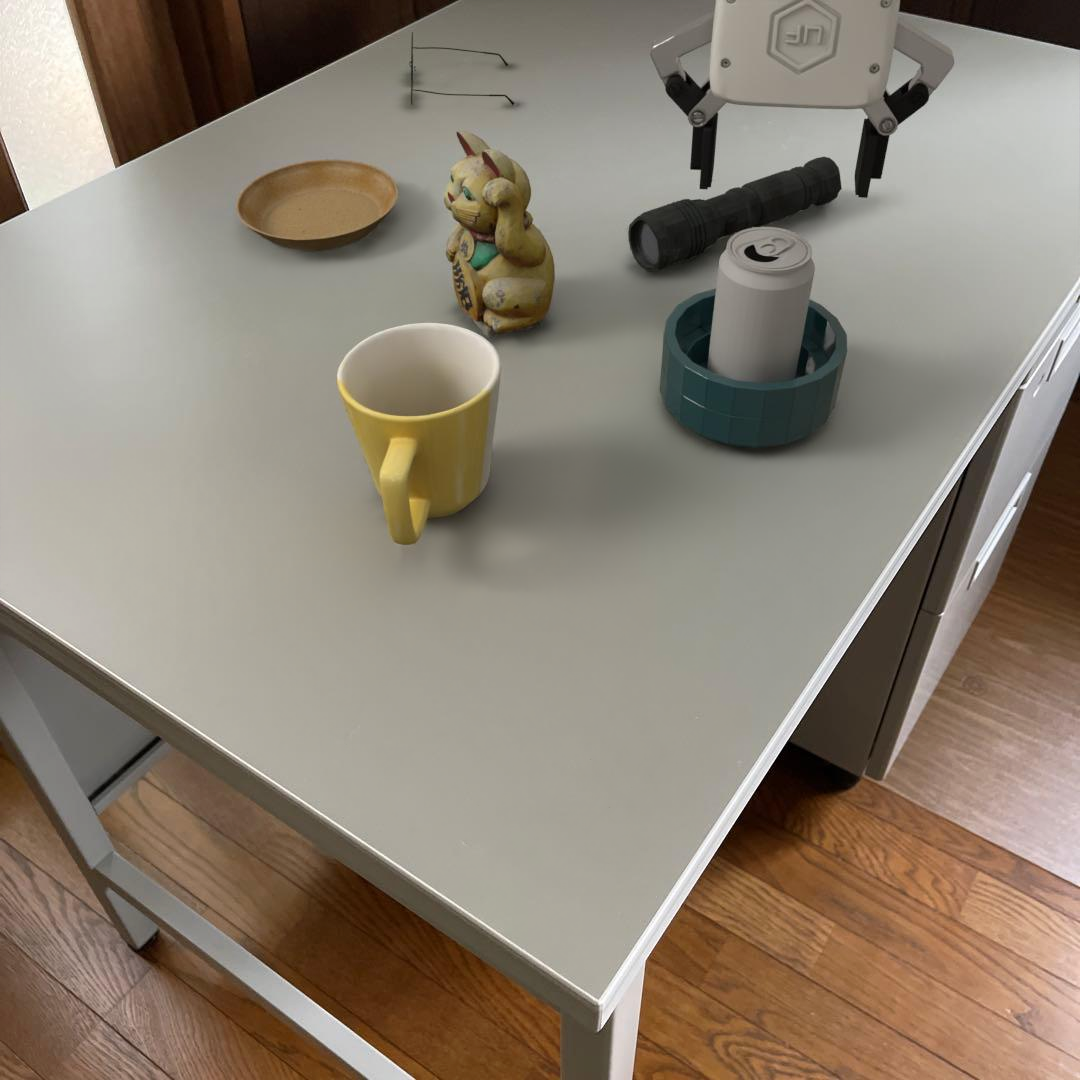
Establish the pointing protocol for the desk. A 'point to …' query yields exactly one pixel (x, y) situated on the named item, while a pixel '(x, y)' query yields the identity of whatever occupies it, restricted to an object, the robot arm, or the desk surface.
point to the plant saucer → (317, 203)
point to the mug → (423, 418)
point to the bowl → (749, 406)
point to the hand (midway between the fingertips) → (782, 183)
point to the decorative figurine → (496, 242)
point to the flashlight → (729, 213)
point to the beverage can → (761, 305)
